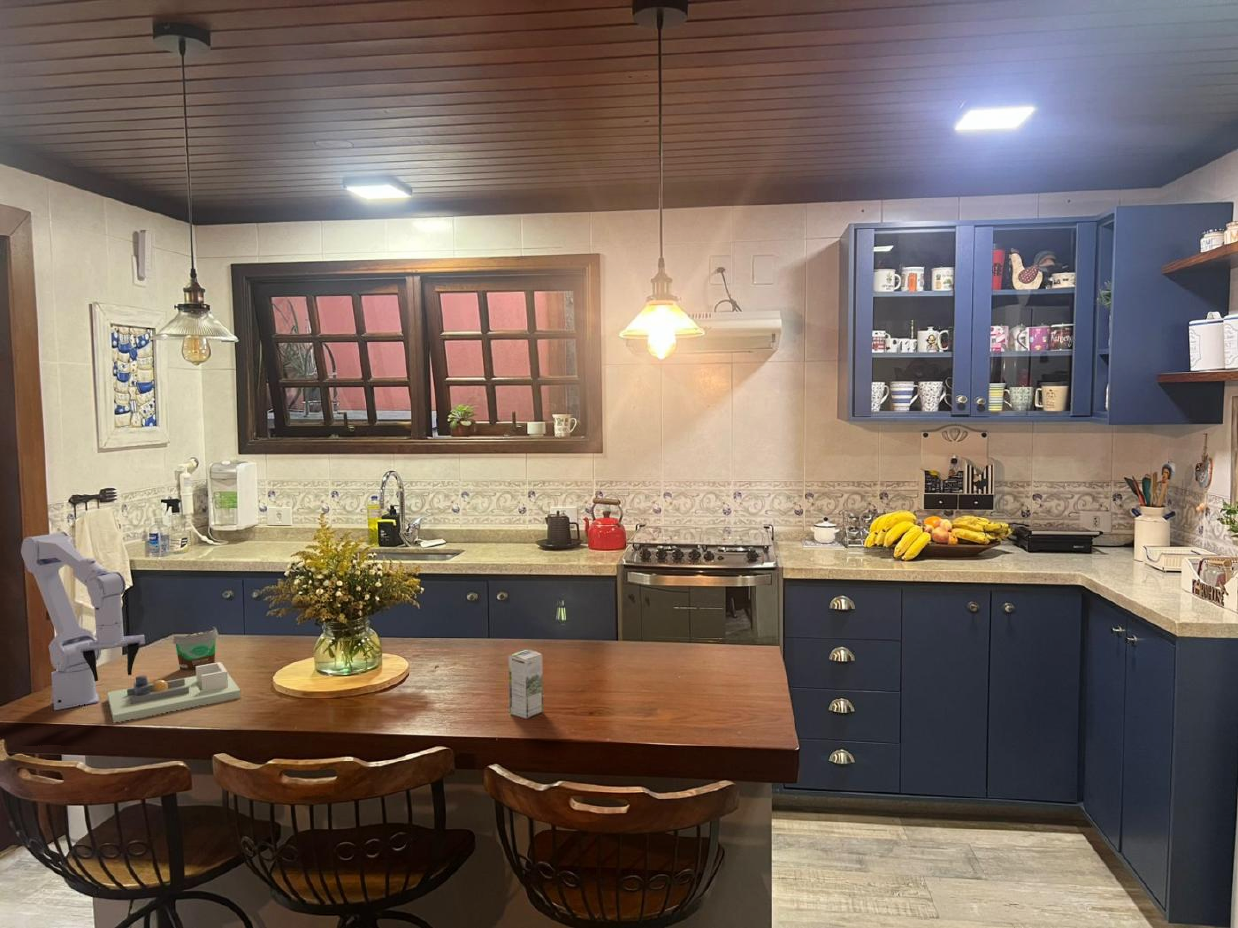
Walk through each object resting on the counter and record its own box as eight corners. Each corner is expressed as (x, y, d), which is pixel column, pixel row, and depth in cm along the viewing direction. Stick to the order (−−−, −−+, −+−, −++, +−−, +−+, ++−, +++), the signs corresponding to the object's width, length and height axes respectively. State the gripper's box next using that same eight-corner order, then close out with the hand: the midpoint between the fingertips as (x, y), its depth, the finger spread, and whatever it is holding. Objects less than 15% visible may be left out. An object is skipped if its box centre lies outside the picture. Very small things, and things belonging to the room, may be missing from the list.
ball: (153, 697, 213) (152, 683, 212) (151, 693, 216) (151, 679, 215) (169, 694, 215) (168, 680, 214) (167, 690, 218) (166, 676, 217)
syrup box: (526, 707, 205) (524, 648, 204) (544, 712, 201) (542, 652, 200) (509, 714, 201) (507, 654, 200) (527, 719, 197) (525, 658, 196)
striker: (136, 700, 210) (135, 681, 209) (134, 694, 214) (133, 674, 214) (150, 698, 211) (149, 678, 211) (148, 691, 216) (146, 672, 216)
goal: (202, 691, 216) (201, 676, 216) (196, 681, 224) (195, 666, 224) (228, 686, 219) (227, 671, 219) (221, 676, 228) (220, 661, 227)
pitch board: (113, 723, 201) (112, 708, 201) (107, 699, 217) (106, 686, 217) (240, 697, 217) (240, 683, 216) (226, 677, 233) (225, 664, 233)
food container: (185, 674, 236) (182, 639, 236) (174, 670, 240) (172, 636, 239) (228, 663, 246) (226, 629, 245) (217, 659, 250) (215, 626, 249)
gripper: (74, 631, 201) (78, 687, 202) (144, 621, 209) (148, 675, 210) (73, 625, 206) (77, 679, 207) (141, 615, 215) (145, 668, 216)
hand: (113, 677), depth 209 cm, fingers open, 6 cm apart
